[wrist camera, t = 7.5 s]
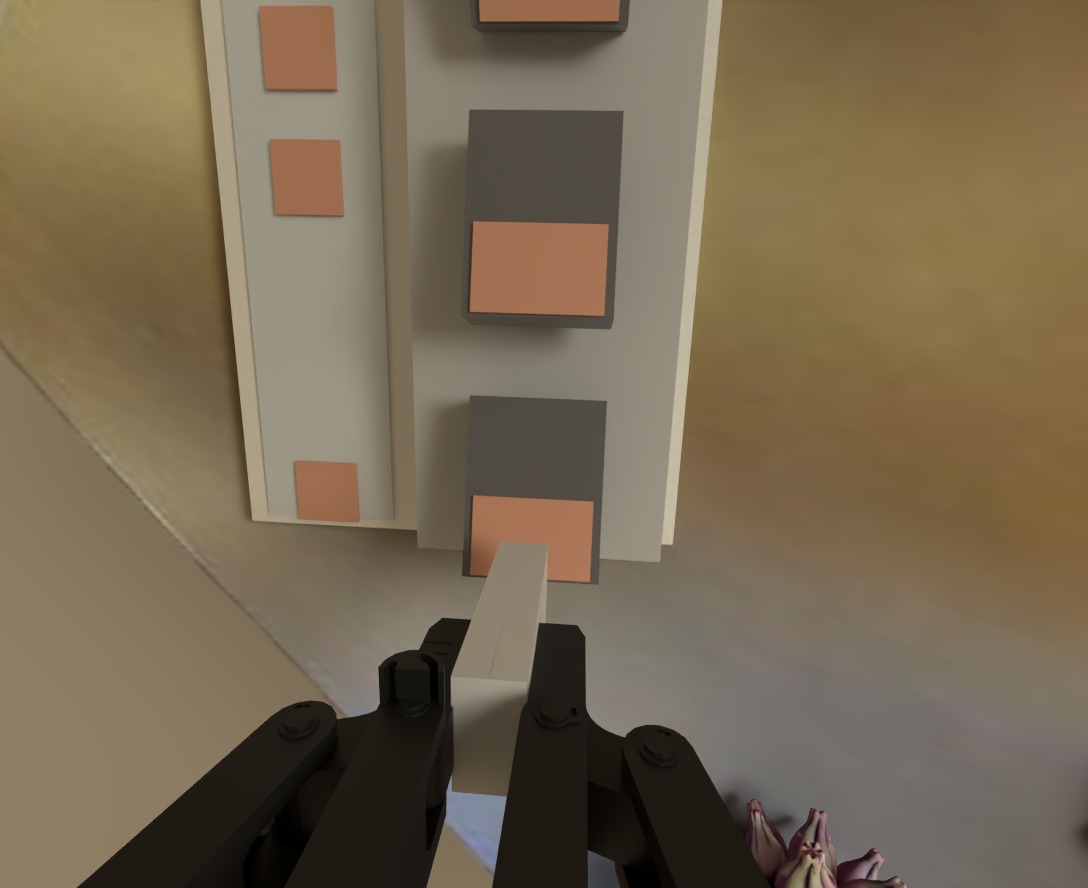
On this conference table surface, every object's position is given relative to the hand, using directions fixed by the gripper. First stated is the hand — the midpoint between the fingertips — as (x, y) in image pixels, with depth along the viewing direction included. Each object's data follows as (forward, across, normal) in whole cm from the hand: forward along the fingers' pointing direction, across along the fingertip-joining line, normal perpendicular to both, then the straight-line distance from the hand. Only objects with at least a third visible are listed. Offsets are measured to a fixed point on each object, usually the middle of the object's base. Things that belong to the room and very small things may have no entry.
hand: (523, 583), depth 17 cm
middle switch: (+3, 0, +11) cm, 12 cm away
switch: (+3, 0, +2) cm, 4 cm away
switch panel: (+9, -4, +11) cm, 15 cm away
